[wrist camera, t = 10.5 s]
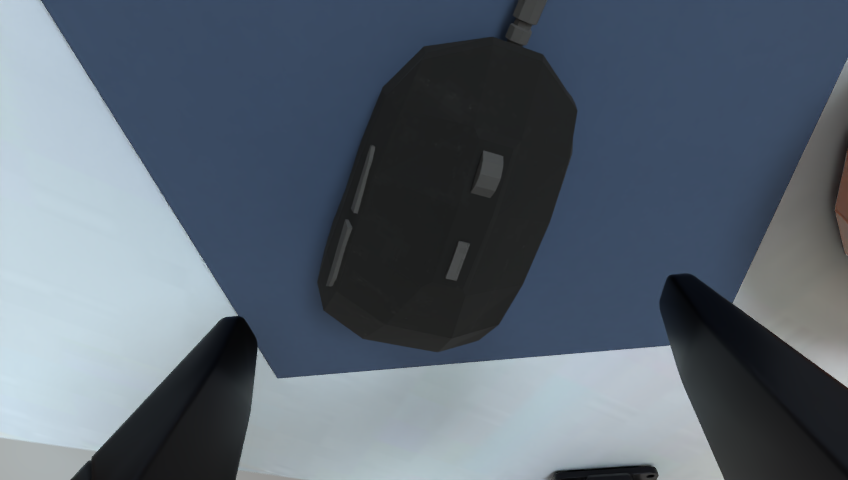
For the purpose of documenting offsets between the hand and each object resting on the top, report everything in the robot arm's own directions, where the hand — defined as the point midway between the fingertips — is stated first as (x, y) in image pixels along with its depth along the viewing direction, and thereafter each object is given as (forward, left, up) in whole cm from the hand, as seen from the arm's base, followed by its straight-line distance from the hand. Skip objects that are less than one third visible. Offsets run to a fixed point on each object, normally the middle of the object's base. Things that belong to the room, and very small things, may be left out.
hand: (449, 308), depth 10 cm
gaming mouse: (-1, 0, -6) cm, 6 cm away
